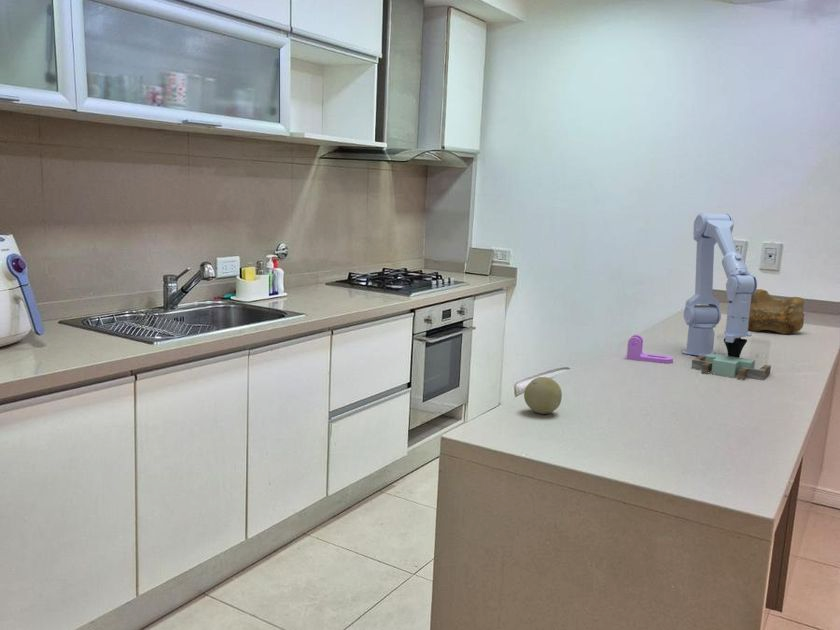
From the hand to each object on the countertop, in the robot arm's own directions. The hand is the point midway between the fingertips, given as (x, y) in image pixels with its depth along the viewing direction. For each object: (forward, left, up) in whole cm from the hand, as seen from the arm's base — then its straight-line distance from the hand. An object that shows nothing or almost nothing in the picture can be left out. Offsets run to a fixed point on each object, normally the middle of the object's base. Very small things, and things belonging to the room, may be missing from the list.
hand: (732, 363), depth 203 cm
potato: (+76, -21, -2) cm, 79 cm away
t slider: (+5, 0, -2) cm, 6 cm away
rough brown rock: (-78, -8, -2) cm, 79 cm away
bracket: (+5, -22, -2) cm, 23 cm away
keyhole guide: (+4, 0, -2) cm, 5 cm away
